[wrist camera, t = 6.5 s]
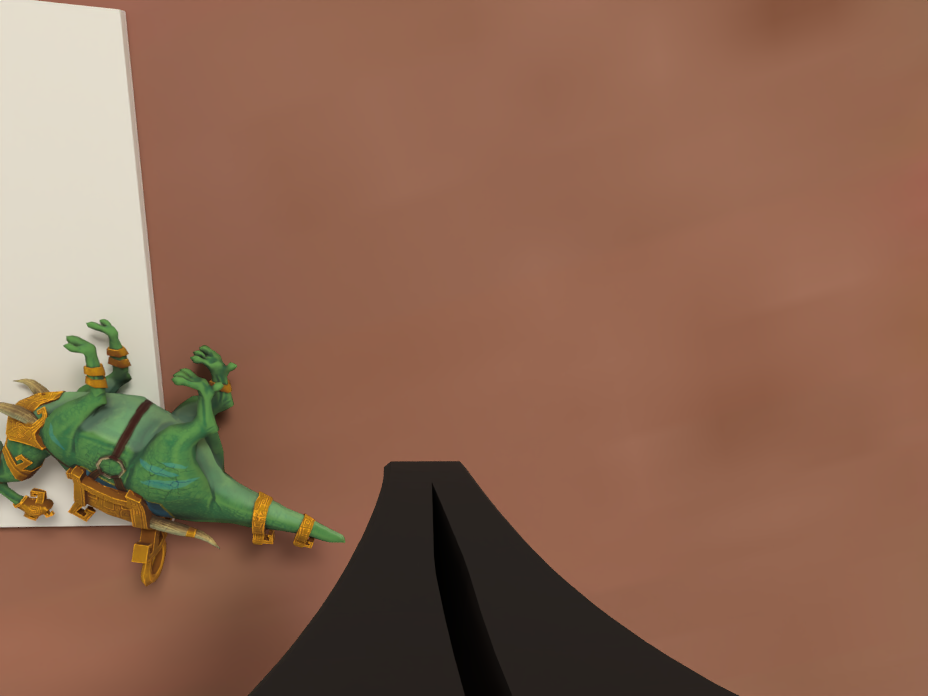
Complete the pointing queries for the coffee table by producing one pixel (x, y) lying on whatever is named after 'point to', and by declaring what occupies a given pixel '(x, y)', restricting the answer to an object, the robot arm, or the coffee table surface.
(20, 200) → the cream mat
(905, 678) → the coffee table surface
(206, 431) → the figurine
